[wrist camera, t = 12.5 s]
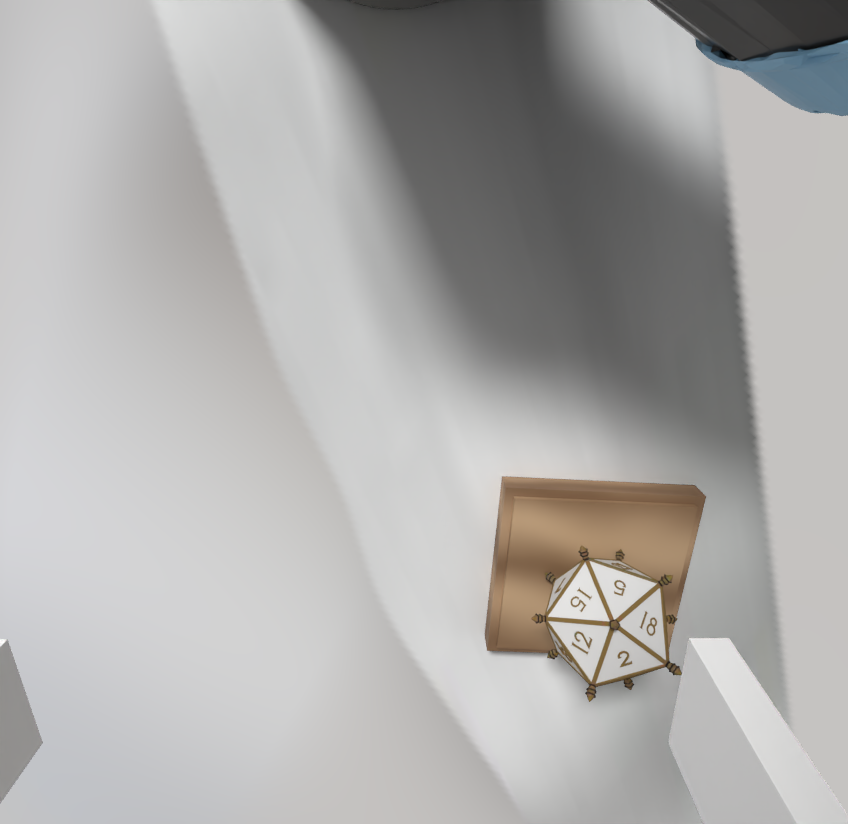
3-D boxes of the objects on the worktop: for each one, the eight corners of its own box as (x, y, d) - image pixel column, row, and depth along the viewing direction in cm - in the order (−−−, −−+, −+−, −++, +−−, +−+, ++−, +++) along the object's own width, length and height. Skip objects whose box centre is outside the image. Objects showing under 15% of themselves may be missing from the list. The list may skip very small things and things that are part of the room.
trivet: (502, 476, 38) (506, 490, 36) (694, 485, 39) (709, 499, 37) (484, 634, 43) (487, 654, 41) (657, 641, 43) (668, 661, 41)
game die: (601, 542, 42) (737, 628, 35) (534, 639, 41) (659, 748, 34) (555, 495, 36) (710, 588, 29) (475, 609, 35) (614, 734, 28)
